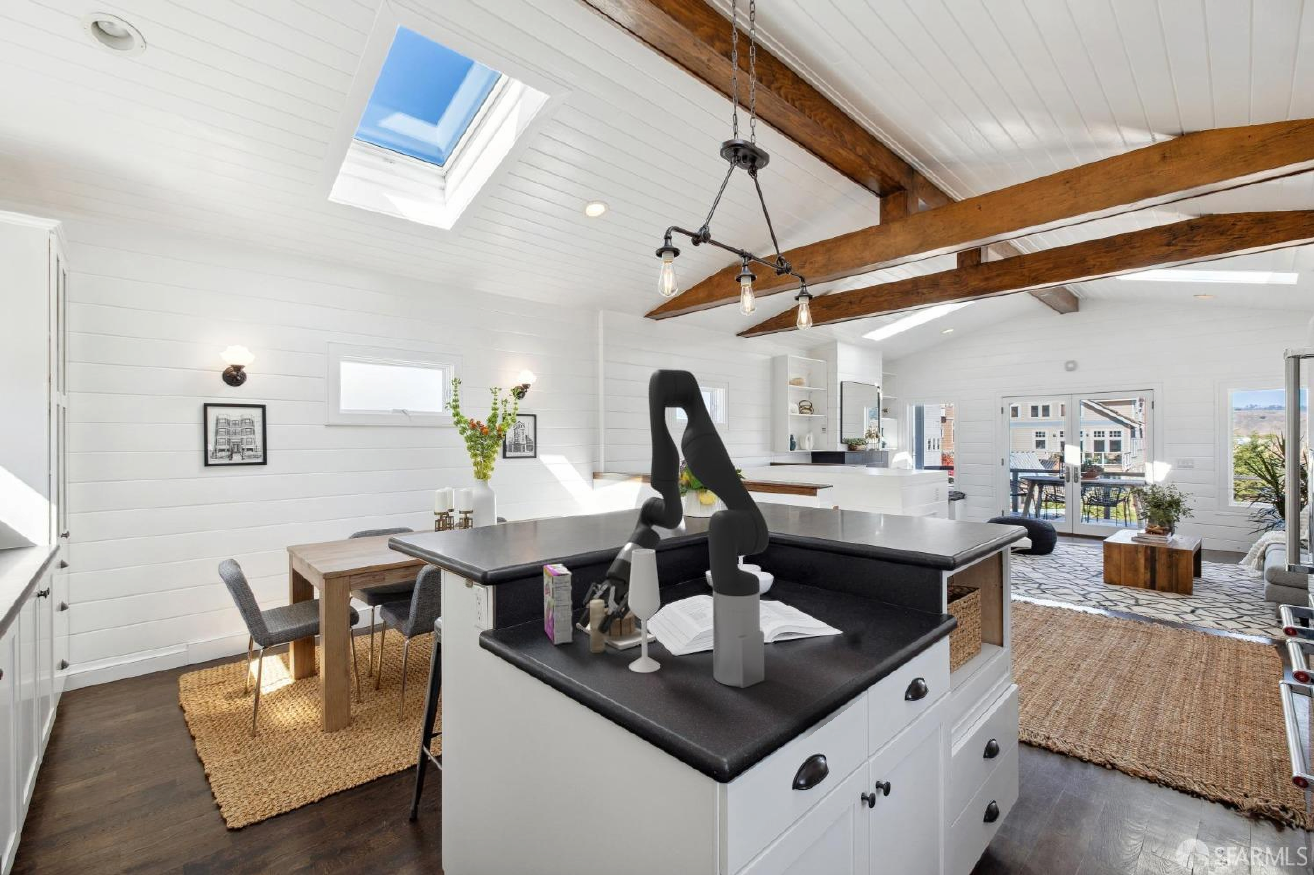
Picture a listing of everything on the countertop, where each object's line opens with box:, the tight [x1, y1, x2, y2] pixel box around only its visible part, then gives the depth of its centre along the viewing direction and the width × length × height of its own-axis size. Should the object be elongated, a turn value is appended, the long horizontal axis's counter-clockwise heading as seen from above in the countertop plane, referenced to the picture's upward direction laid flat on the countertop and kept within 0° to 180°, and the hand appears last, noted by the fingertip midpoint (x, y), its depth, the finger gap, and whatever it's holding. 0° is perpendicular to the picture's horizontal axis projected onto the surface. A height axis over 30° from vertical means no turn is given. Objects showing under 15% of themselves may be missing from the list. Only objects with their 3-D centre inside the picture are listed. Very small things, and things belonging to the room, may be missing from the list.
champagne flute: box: [628, 549, 661, 673], centre depth 122 cm, size 7×7×24 cm
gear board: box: [575, 607, 656, 651], centre depth 142 cm, size 20×10×5 cm, turn 37°
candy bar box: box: [543, 563, 574, 645], centre depth 140 cm, size 11×5×16 cm, turn 22°
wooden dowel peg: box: [589, 598, 606, 654], centre depth 131 cm, size 3×3×11 cm
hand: (591, 628), depth 130 cm, fingers open, 5 cm apart
